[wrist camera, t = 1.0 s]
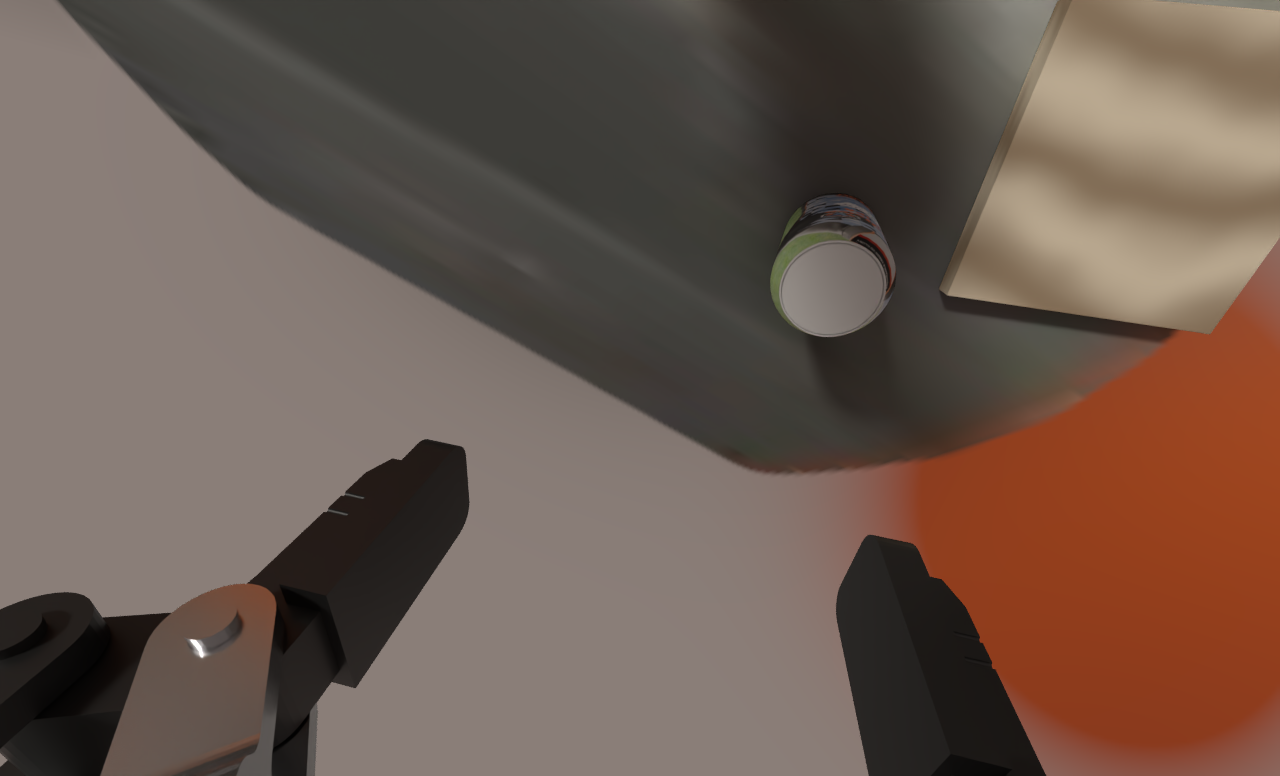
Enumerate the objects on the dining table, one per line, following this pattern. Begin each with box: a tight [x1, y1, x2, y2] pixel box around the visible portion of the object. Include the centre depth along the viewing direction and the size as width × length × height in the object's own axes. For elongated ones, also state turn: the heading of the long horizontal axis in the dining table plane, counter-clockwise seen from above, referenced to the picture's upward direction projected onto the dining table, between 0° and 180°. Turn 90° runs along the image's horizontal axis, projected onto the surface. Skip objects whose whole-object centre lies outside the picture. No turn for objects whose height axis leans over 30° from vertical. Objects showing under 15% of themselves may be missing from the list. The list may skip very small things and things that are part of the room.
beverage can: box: [770, 193, 896, 337], centre depth 28 cm, size 6×7×12 cm
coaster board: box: [939, 0, 1280, 334], centre depth 28 cm, size 16×16×2 cm
